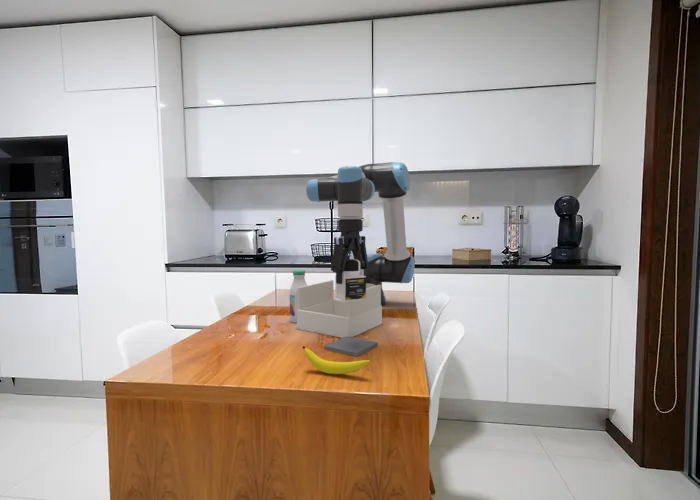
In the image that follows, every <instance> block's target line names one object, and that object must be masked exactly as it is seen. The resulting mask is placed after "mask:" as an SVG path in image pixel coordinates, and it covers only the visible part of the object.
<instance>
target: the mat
mask: <svg viewBox="0 0 700 500" xmlns="http://www.w3.org/2000/svg"><path fill="white" fill-rule="evenodd" d="M377 346H379V342H377V341H372V340H368V339H362V338H357V337H347V336H346V337H344V338H341V337H340V338H339V339H338V340H334V341H333V342H330V343H328V344H326V345H324V346H323V350H326V351H332V352H335V353H340V354H343V355H349V356H352V357H359V356H361V355H362V354H365V353H366V352H369V351H370V350H372V349H374V348H375V347H377Z"/></svg>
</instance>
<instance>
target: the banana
mask: <svg viewBox="0 0 700 500" xmlns="http://www.w3.org/2000/svg"><path fill="white" fill-rule="evenodd" d="M302 349H303V350H304V353H305V355H306V357H307V359H308V361H309V363H310V364H311V365H312V366H313V367H314V369H317V370H318V371H320V372H322V373H325V374H328V375H344V374H350V373H355V372H358V371H360V370H361V369H364V367H366V366H367V365H368V364H369V363H370V362H371V360H369V359H368V360H367V359H365V360H364V359H363V360H356V361H355V360H354V361H333V360H331V361H330V360H326V359H324V358H321V357H319V355H318V354H315V353H314V352H313V351H312V350H310V349H309V348H306V346H305V345H303V346H302Z"/></svg>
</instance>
